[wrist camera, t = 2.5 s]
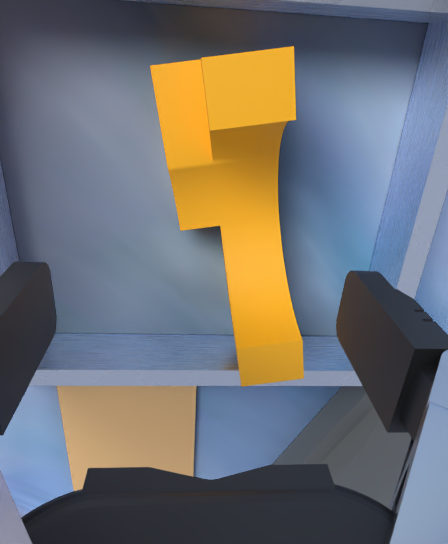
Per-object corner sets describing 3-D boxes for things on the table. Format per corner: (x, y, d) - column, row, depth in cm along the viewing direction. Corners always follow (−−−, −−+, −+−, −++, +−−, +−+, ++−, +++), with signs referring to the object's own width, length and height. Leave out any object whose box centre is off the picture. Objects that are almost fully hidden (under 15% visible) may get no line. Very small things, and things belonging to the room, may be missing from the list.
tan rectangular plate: (196, 372, 24) (196, 377, 24) (192, 484, 29) (192, 490, 28) (57, 372, 24) (55, 377, 23) (75, 487, 28) (74, 492, 28)
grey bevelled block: (208, 525, 32) (209, 575, 29) (372, 338, 25) (397, 377, 22) (314, 557, 35) (325, 606, 32) (489, 398, 28) (526, 440, 24)
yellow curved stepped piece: (157, 65, 17) (138, 65, 11) (261, 52, 17) (294, 46, 11) (198, 308, 23) (198, 392, 17) (276, 298, 23) (303, 378, 17)
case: (470, -48, 16) (526, -71, 13) (366, 350, 24) (387, 385, 22) (-77, -97, 14) (-140, -134, 12) (16, 347, 23) (-8, 385, 20)
